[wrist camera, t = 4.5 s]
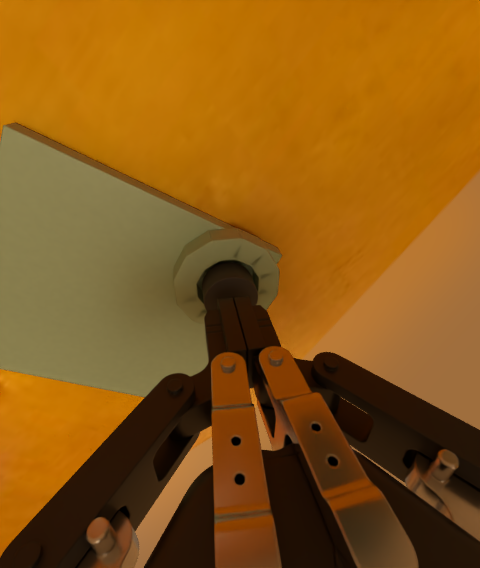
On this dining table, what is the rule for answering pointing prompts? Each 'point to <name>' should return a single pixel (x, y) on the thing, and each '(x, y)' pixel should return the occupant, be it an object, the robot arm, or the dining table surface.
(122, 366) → the scale
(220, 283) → the tare button
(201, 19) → the dining table surface
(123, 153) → the dining table surface
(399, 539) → the robot arm
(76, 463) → the dining table surface
